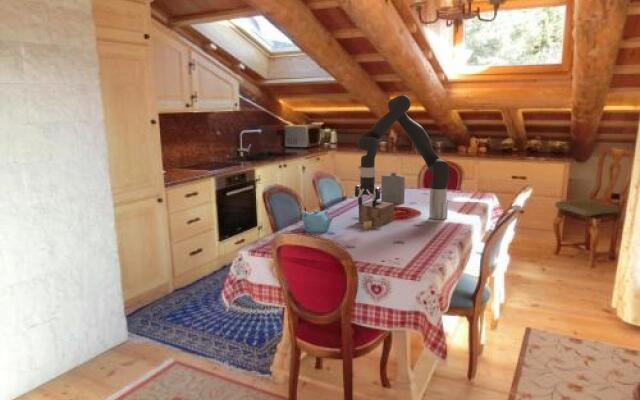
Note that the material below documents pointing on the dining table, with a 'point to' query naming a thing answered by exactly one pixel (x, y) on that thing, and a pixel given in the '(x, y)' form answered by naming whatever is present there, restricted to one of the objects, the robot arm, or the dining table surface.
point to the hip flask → (393, 188)
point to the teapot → (316, 221)
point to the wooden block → (367, 225)
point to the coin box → (376, 213)
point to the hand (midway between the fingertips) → (367, 206)
